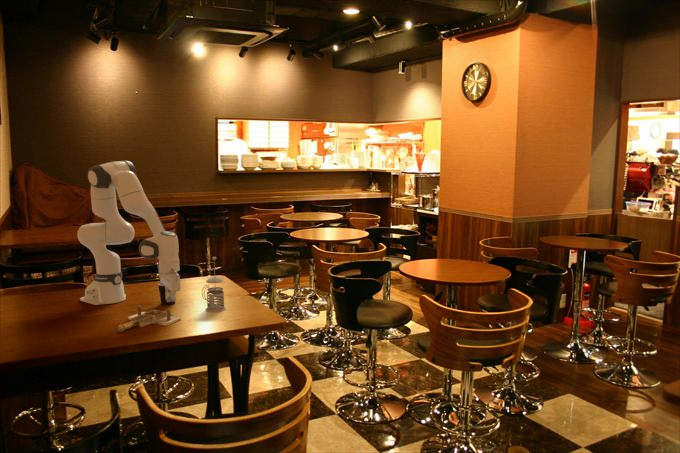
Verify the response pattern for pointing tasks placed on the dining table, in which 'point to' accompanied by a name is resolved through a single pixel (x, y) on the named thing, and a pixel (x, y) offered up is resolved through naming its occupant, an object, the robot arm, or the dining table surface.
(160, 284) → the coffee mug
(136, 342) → the dining table surface
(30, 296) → the dining table surface
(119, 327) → the pin
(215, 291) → the french press
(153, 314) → the cradle
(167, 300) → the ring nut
